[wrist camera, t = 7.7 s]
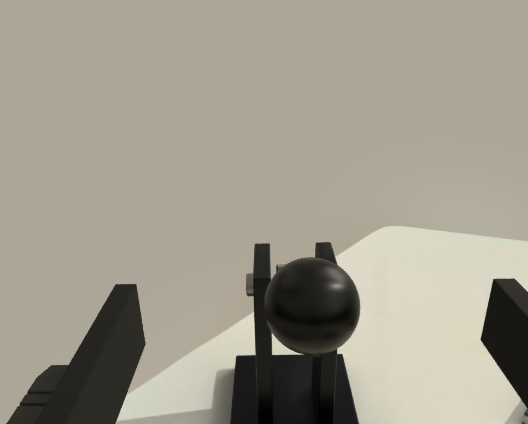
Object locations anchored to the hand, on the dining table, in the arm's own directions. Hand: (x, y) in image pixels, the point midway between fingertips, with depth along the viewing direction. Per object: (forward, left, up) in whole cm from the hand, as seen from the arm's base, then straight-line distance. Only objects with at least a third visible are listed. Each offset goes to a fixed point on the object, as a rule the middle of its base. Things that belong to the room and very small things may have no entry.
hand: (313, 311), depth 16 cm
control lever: (+2, +3, -4) cm, 6 cm away
